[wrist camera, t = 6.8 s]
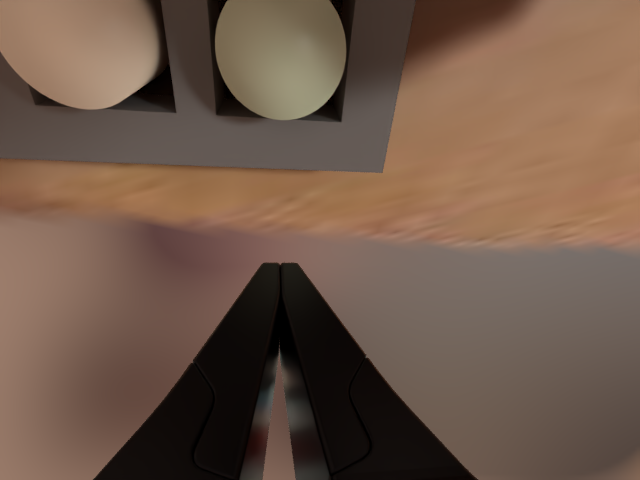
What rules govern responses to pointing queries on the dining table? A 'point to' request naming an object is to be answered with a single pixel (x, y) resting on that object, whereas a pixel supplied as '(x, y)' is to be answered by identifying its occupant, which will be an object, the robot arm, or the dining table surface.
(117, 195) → the dining table surface
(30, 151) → the egg tray
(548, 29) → the dining table surface
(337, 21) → the pale green egg
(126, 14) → the beige domed piece
